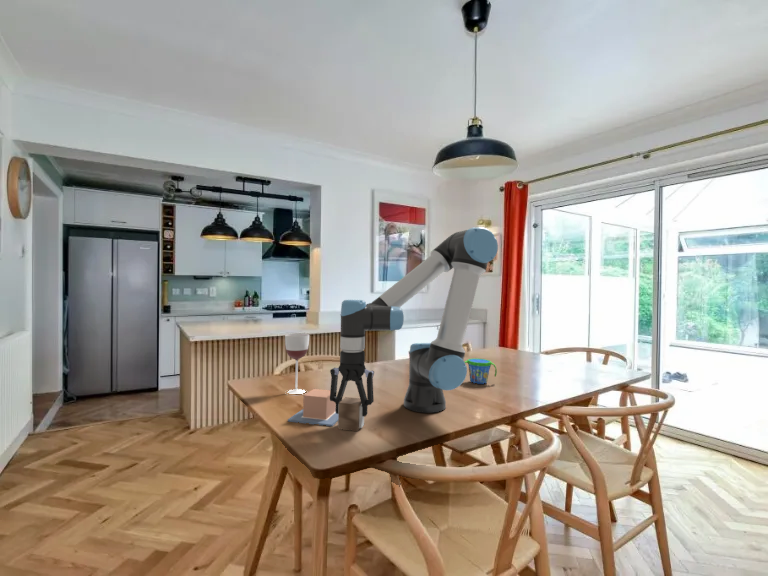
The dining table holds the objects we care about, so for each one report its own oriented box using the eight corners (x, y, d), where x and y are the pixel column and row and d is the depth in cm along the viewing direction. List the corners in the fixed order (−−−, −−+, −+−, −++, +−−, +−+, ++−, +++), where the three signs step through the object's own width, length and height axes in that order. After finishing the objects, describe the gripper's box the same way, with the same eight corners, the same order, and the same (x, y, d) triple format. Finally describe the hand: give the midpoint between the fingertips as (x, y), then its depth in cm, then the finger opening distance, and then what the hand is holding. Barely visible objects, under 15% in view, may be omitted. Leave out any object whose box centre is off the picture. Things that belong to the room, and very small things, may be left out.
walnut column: (363, 424, 120) (363, 398, 120) (357, 431, 115) (357, 404, 114) (345, 422, 122) (345, 397, 122) (338, 429, 116) (338, 402, 116)
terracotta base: (335, 411, 130) (335, 390, 130) (326, 419, 122) (326, 397, 122) (313, 409, 132) (313, 388, 132) (303, 416, 124) (303, 395, 124)
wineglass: (313, 391, 156) (314, 334, 156) (295, 396, 148) (297, 337, 147) (296, 387, 161) (297, 332, 161) (278, 393, 152) (279, 335, 152)
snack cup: (496, 381, 179) (496, 359, 179) (496, 387, 169) (497, 364, 169) (462, 378, 183) (462, 357, 183) (460, 383, 173) (460, 361, 173)
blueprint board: (348, 411, 133) (348, 409, 133) (332, 426, 118) (332, 424, 118) (308, 406, 136) (308, 405, 136) (287, 421, 122) (287, 419, 122)
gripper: (385, 350, 119) (384, 424, 120) (328, 346, 124) (326, 418, 124) (379, 354, 112) (377, 433, 112) (318, 350, 117) (317, 426, 117)
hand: (351, 425), depth 118 cm, fingers closed on walnut column, 6 cm apart
